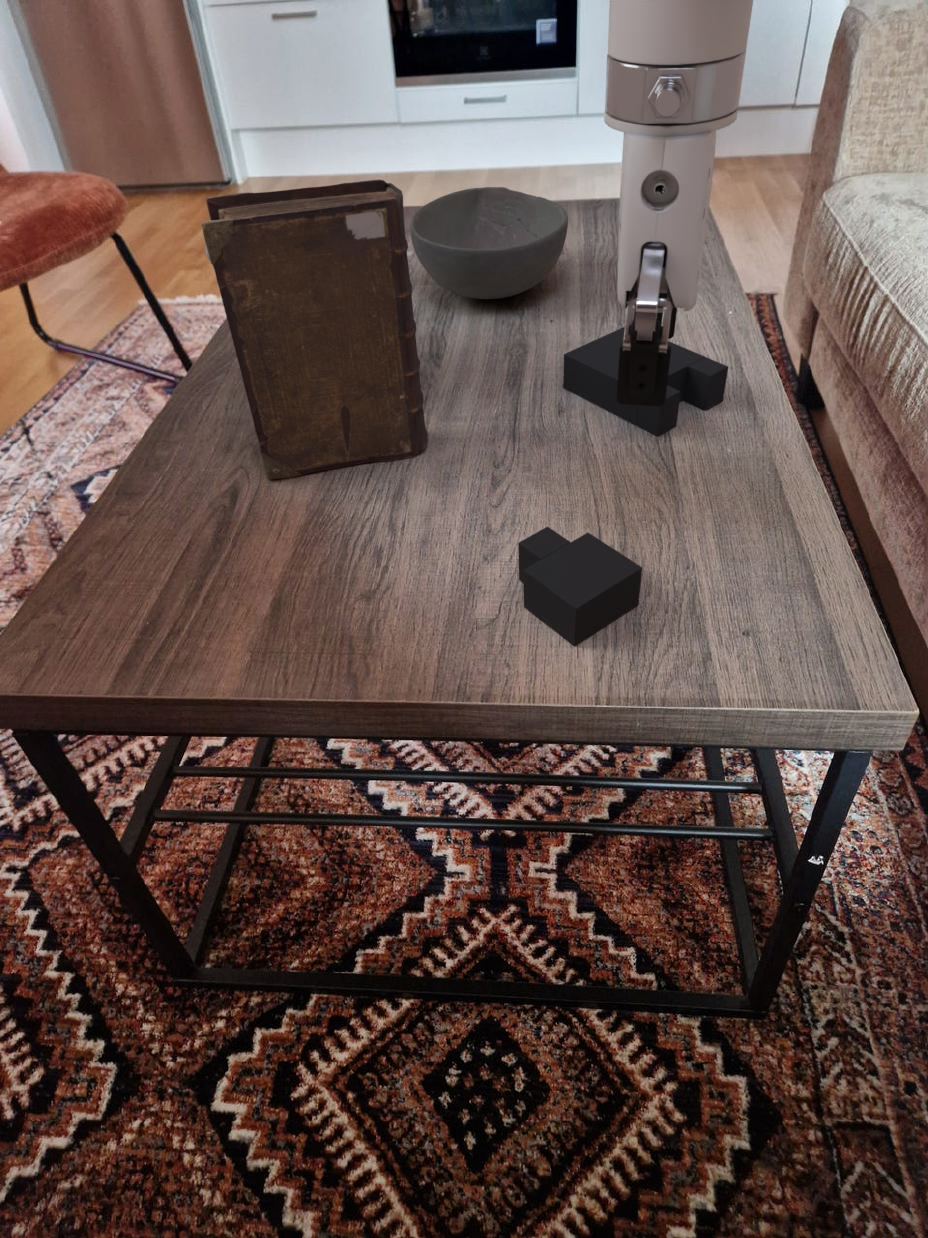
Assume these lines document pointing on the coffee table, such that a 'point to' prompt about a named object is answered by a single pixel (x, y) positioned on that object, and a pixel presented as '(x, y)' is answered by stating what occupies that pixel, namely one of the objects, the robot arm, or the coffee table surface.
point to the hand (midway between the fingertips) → (646, 367)
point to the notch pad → (688, 380)
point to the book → (321, 322)
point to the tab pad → (576, 583)
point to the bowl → (489, 241)
